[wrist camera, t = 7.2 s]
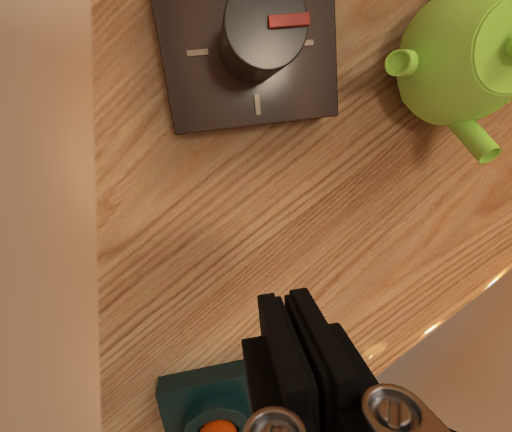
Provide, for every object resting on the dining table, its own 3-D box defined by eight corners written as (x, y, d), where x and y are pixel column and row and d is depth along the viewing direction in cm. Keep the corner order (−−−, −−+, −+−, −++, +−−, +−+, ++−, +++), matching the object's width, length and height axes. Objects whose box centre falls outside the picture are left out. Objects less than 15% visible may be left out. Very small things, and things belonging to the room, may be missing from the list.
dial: (223, 86, 21) (230, 73, 16) (213, 12, 20) (217, -29, 15) (286, 80, 22) (313, 65, 16) (280, 8, 21) (308, -34, 15)
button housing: (175, 444, 33) (171, 485, 30) (158, 376, 31) (152, 412, 27) (267, 422, 35) (275, 459, 31) (258, 356, 32) (265, 387, 28)
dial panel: (178, 133, 25) (174, 135, 22) (151, -15, 22) (143, -37, 19) (323, 116, 26) (339, 115, 23) (317, -25, 23) (334, -47, 20)
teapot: (517, 59, 27) (647, 32, 19) (426, 163, 29) (511, 179, 21) (441, -47, 24) (560, -131, 16) (342, 77, 25) (406, 57, 17)
